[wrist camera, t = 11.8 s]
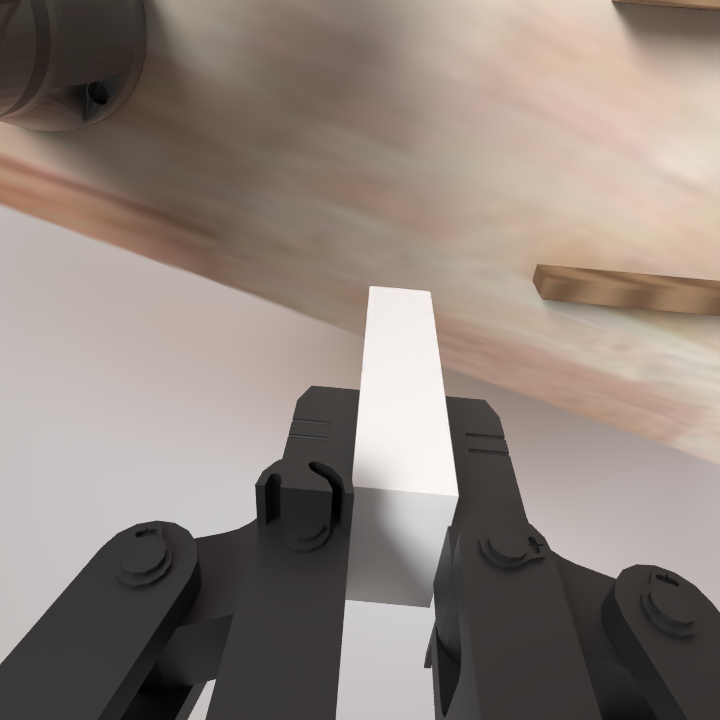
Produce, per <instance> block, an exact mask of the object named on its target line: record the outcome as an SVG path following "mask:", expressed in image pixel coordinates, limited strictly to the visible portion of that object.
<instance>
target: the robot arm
mask: <svg viewBox="0 0 720 720" xmlns="http://www.w3.org/2000/svg"><path fill="white" fill-rule="evenodd" d="M145 46H146V24H145V15H144V8H143V3H142V0H0V121H2V122H6V123H9V124H13V125H17V126H21V127H25V128H29V129H34V130H40V131H67V130H73V129H77V128H80V127H84V126H87V125H90V124H93V123H96V122H98V121H101V120H103V119H105V118H106V117H108V116H110V115H111V114H112V113H114V112H115V111H116V110H117V109H119V108H120V107H121V106H122V104H123V103H124V102H125V101H126V100H127V98H128V97H129V96H130V94H131V93H132V91H133V89H134V87H135V85H136V83H137V81H138V78H139V76H140V73H141V69H142V65H143V61H144V55H145ZM255 487H256V506H257V518H256V519H255V520H254V521H253V522H251V523H249V524H247V525H245V526H243V527H241V528H240V529H237V530H233V531H230V532H226V533H222V534H216V535H211V536H206V537H200V538H195V539H194V538H193V537H192V535H191V534H190V532H189V531H188V530H186V529H184V528H183V527H181V526H179V525H177V524H176V523H171V522H163V521H153V522H146V523H141V524H136V525H135V526H132V527H130V528H128V529H126V530H124V531H122V532H119V533H118V534H116V535H115V536H114V537H113V538H112V539H111V540H109V541H108V542H107V543H106V544H105V545H104V546H103V547H102V548H101V549H100V550H99V551H98V552H97V553H96V554H95V556H94V557H93V558H92V559H91V560H90V561H89V563H88V564H87V565H86V566H85V567H84V568H83V569H82V571H81V572H80V573H79V574H78V576H76V578H75V579H74V580H73V581H72V582H71V583H70V584H69V586H68V587H67V588H66V589H65V590H64V591H63V593H62V594H61V595H60V596H59V597H58V598H57V600H56V601H55V602H54V603H53V604H52V605H51V607H50V608H49V609H48V610H47V611H46V613H45V614H44V615H43V616H42V617H41V618H40V619H39V620H38V622H37V623H36V624H35V625H34V626H33V627H32V629H31V630H30V631H29V632H28V633H27V634H26V636H25V637H24V638H23V639H22V640H21V641H20V642H19V643H18V645H17V646H16V647H15V648H14V649H13V651H12V652H11V653H10V654H9V655H8V656H7V657H6V659H5V660H4V661H3V662H2V663H1V665H0V720H187V719H188V718H189V715H190V714H191V712H192V710H193V708H194V706H195V704H196V702H197V700H198V698H199V696H200V694H201V692H202V690H203V688H204V686H205V685H206V683H207V681H210V680H214V679H216V682H215V686H214V690H213V693H212V697H211V701H210V705H209V708H208V712H207V716H206V719H205V720H335V719H336V706H337V694H338V693H337V692H338V682H339V669H340V656H341V645H342V632H343V619H344V607H345V600H354V601H365V602H375V603H386V604H396V605H407V606H417V607H428V608H429V607H430V604H431V600H432V597H433V593H434V601H435V602H434V603H435V615H436V616H435V617H436V619H435V623H434V627H433V630H432V634H431V638H430V641H429V645H428V649H427V652H426V658H425V664H424V668H431V665H432V671H433V689H434V705H435V720H720V612H719V611H718V610H717V608H716V607H715V606H714V605H713V603H712V602H711V601H710V600H709V599H708V598H707V597H706V596H705V595H704V594H703V593H701V591H700V590H699V589H698V588H697V587H696V586H695V585H693V584H692V583H690V582H689V581H687V580H685V579H684V578H682V577H681V576H679V575H678V574H676V573H674V572H671V571H669V570H666V569H663V568H660V567H658V566H655V565H638V564H637V565H634V566H631V567H629V568H626V569H624V570H622V572H621V573H620V575H619V576H618V578H617V579H615V578H612V577H609V576H607V575H604V574H601V573H599V572H596V571H593V570H591V569H588V568H585V567H583V566H580V565H577V564H575V563H573V562H571V561H569V560H566V559H564V558H562V557H561V556H559V555H558V554H556V553H555V552H553V551H552V550H551V549H550V547H549V545H548V543H547V541H546V540H545V538H544V537H543V536H542V535H541V534H540V533H539V532H538V531H537V530H536V529H535V528H534V527H533V526H532V525H531V524H529V522H528V520H527V517H526V514H525V511H524V506H523V503H522V499H521V495H520V492H519V488H518V484H517V481H516V477H515V473H514V469H513V466H512V462H511V458H510V456H509V451H508V447H507V444H506V440H504V433H503V429H502V425H501V421H500V418H499V416H498V415H497V414H496V413H495V412H494V410H493V409H492V408H491V407H490V406H489V405H488V403H487V402H486V401H485V400H479V399H468V398H458V397H447V396H445V394H444V386H443V379H442V372H441V364H440V357H439V350H438V343H437V336H436V328H435V321H434V314H433V307H432V300H431V292H430V291H421V290H410V289H399V288H388V287H378V286H370V289H369V299H368V310H367V321H366V332H365V342H364V354H363V364H362V375H361V386H360V390H353V389H342V388H332V387H321V386H311V387H310V388H309V389H308V390H307V391H306V392H305V393H304V394H303V395H302V396H301V397H300V398H299V399H298V400H297V404H296V408H295V412H294V416H293V422H292V423H291V428H290V431H289V437H288V439H287V443H286V447H285V451H284V455H283V459H281V460H278V461H276V462H275V463H273V464H272V465H271V466H269V467H268V468H267V469H265V470H264V471H263V472H262V474H261V476H260V477H259V479H258V481H257V483H256V484H255Z"/></svg>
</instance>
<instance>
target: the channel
mask: <svg viewBox="0 0 720 720" xmlns="http://www.w3.org/2000/svg"><path fill="white" fill-rule="evenodd" d="M612 1H613V2H625V3H636V4H647V5H658V6H670V7H681V8H692V9H703V10H715V11H720V0H612ZM533 283H534V284H535V286H536V288H537V290H538V292H539V294H540V295H541V297H542V299H543V300H554V301H565V302H576V303H587V304H598V305H609V306H620V307H630V308H641V309H652V310H663V311H674V312H685V313H696V314H707V315H718V316H720V281H713V280H702V279H691V278H680V277H669V276H658V275H647V274H636V273H625V272H614V271H603V270H592V269H581V268H570V267H560V266H549V265H538V264H537V267H536V271H535V274H534V278H533Z"/></svg>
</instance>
